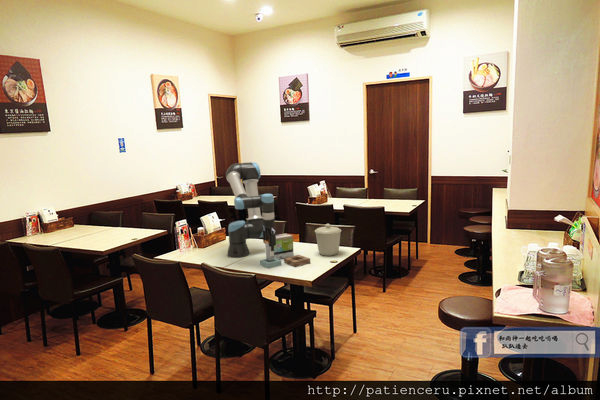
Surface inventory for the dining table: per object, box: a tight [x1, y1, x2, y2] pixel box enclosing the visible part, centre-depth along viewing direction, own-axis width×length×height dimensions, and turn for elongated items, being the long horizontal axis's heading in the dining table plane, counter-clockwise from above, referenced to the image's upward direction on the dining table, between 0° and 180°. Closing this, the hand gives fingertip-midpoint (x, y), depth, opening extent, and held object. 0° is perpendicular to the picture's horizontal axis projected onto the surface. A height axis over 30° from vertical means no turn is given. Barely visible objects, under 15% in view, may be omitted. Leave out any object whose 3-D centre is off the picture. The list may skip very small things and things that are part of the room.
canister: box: [314, 223, 342, 257], centre depth 273 cm, size 18×18×21 cm
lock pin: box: [263, 240, 274, 262], centre depth 253 cm, size 5×5×14 cm
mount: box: [259, 258, 283, 269], centre depth 254 cm, size 10×10×3 cm
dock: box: [283, 254, 311, 268], centre depth 256 cm, size 12×12×3 cm
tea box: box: [274, 233, 294, 260], centre depth 270 cm, size 15×10×15 cm
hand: (270, 255), depth 253 cm, fingers closed on lock pin, 4 cm apart
